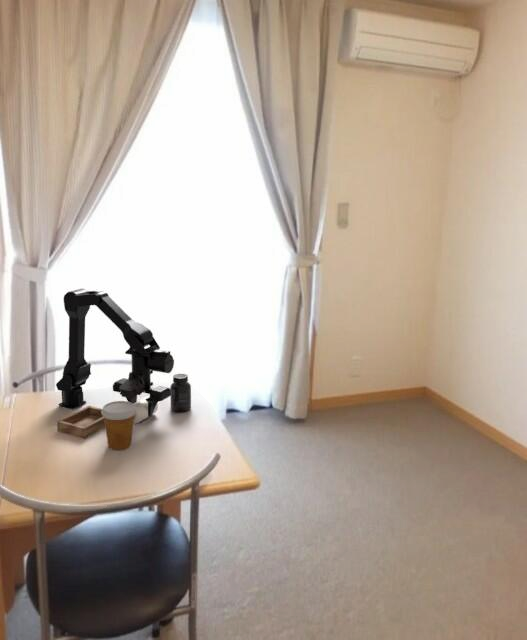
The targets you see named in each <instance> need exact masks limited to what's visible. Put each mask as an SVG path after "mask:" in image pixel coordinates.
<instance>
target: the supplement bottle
mask: <svg viewBox="0 0 527 640" xmlns="http://www.w3.org/2000/svg"><path fill="white" fill-rule="evenodd" d="M172 379H173V380H172V383H171V384H170V388H169V389H170V390H171V396H169V398H170V410H171V411H172V412H173V413H177V414H183V413H188V412H189V411H191V409H192V384H190V382H188V381H189V376H188V374H185V373H176V374H174V375H173V377H172Z"/></svg>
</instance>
